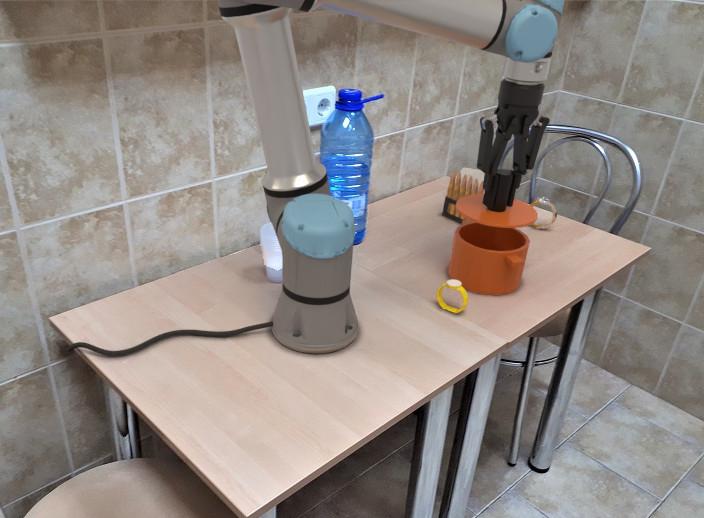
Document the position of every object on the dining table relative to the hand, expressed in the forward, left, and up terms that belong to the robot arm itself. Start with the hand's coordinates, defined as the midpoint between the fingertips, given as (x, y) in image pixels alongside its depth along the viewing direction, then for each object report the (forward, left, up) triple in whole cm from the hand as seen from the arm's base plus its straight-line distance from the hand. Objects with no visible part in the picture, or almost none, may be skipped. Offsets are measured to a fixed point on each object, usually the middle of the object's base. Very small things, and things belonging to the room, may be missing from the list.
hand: (497, 204), depth 120 cm
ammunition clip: (+9, +27, -16) cm, 33 cm away
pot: (0, 0, -16) cm, 16 cm away
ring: (+26, +19, -16) cm, 36 cm away
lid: (0, 0, -1) cm, 1 cm away
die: (+18, +40, -16) cm, 47 cm away
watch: (-13, -10, -16) cm, 23 cm away
